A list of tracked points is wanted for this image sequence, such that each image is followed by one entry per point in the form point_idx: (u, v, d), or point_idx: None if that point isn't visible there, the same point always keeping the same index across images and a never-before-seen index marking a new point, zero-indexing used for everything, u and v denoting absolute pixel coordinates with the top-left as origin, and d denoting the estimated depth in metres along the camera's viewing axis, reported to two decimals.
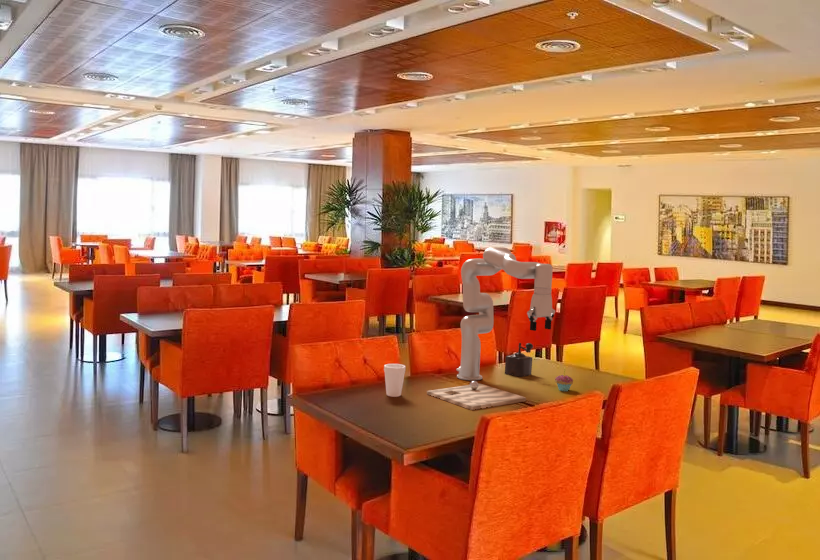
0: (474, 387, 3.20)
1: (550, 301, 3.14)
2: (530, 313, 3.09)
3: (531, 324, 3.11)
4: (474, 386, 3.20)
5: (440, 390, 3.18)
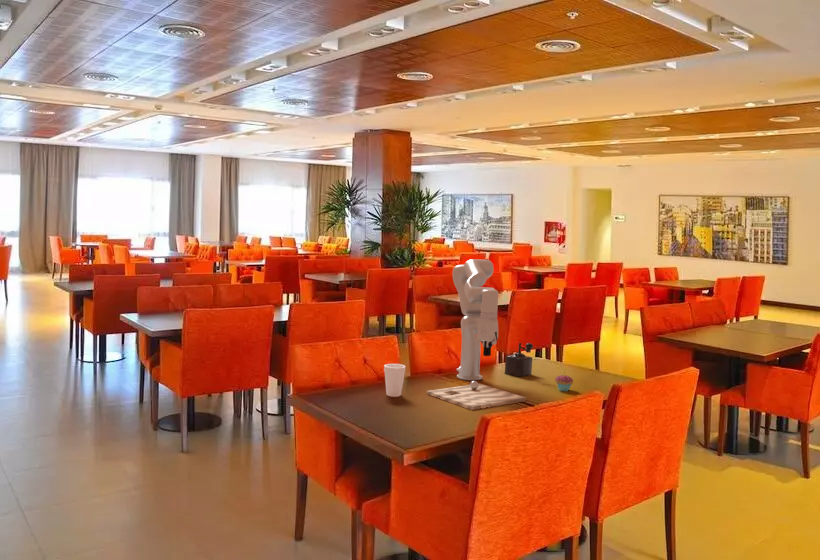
0: (474, 387, 3.20)
1: None
2: None
3: (489, 350, 3.24)
4: (474, 386, 3.20)
5: (440, 390, 3.18)
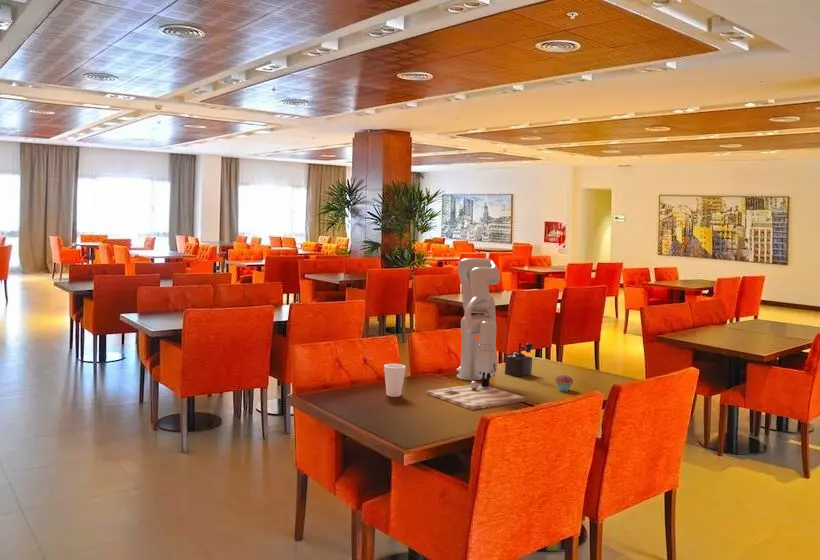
0: (474, 387, 3.20)
1: None
2: None
3: (487, 381, 3.25)
4: (474, 386, 3.20)
5: (440, 390, 3.18)
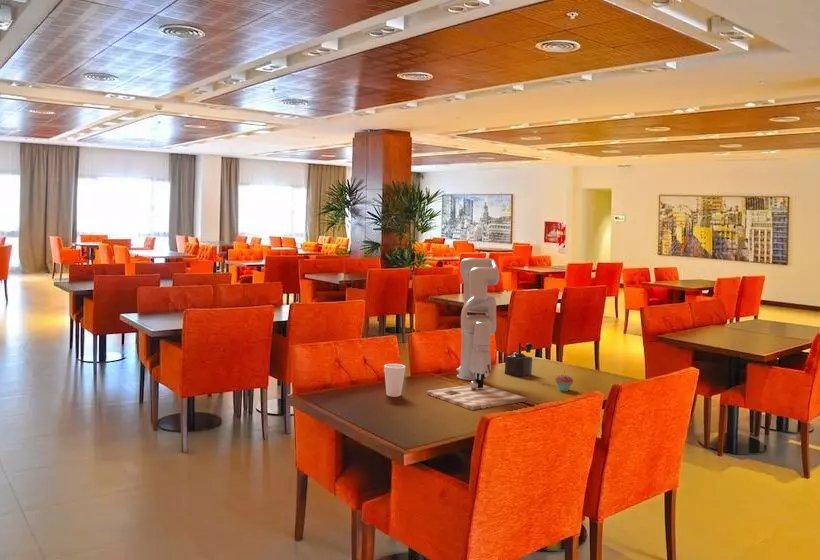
0: (474, 387, 3.20)
1: None
2: None
3: (481, 382, 3.23)
4: (474, 386, 3.20)
5: (440, 390, 3.18)
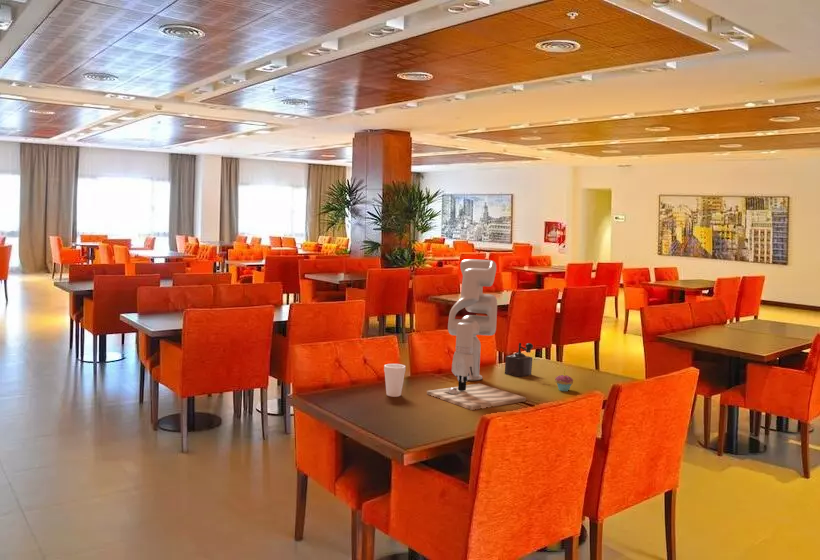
0: None
1: None
2: None
3: (464, 385, 3.16)
4: None
5: (440, 390, 3.18)
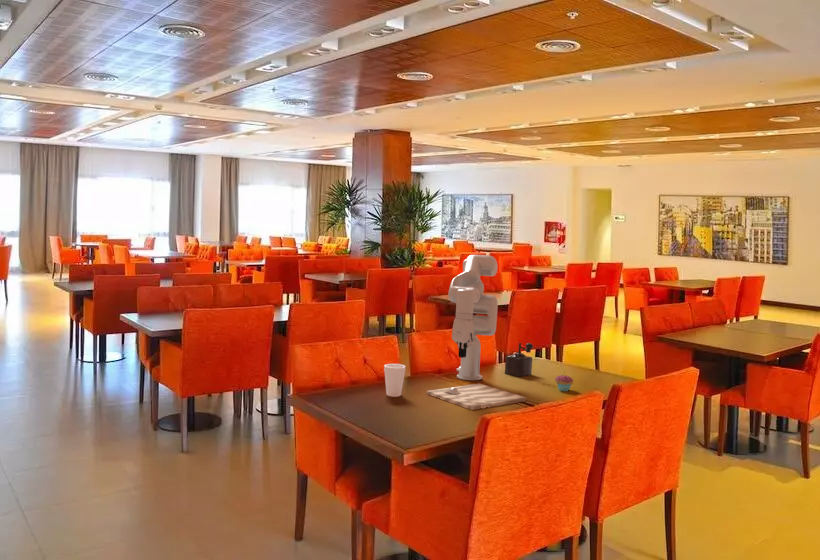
0: None
1: None
2: None
3: (464, 351, 3.15)
4: None
5: (440, 390, 3.18)
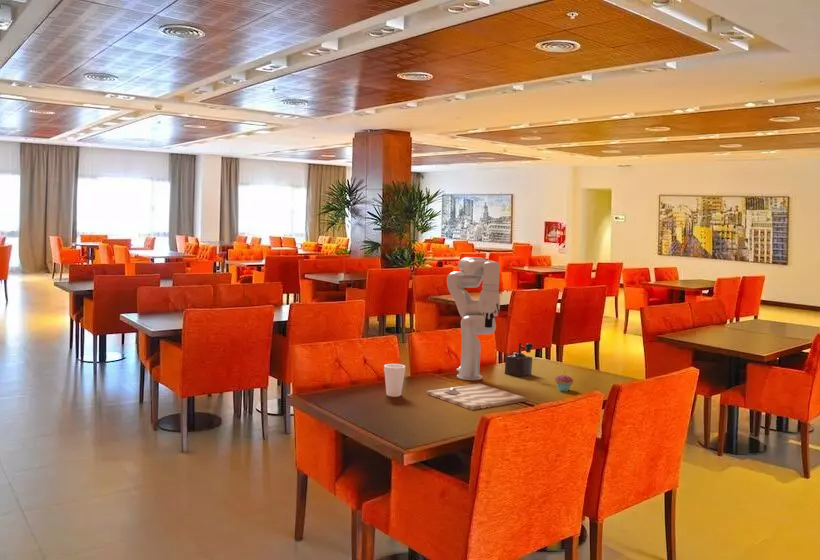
0: None
1: None
2: None
3: (490, 322, 3.28)
4: None
5: (440, 390, 3.18)
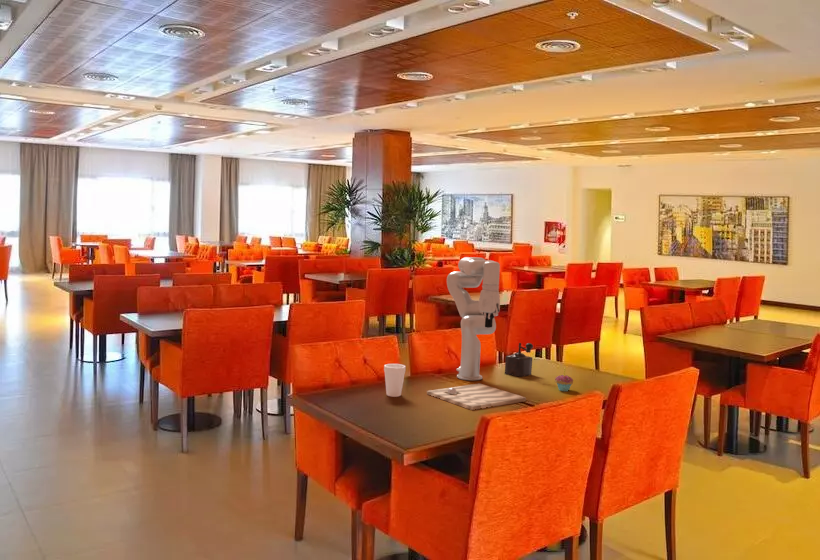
0: None
1: None
2: None
3: (490, 322, 3.28)
4: None
5: (440, 390, 3.18)
